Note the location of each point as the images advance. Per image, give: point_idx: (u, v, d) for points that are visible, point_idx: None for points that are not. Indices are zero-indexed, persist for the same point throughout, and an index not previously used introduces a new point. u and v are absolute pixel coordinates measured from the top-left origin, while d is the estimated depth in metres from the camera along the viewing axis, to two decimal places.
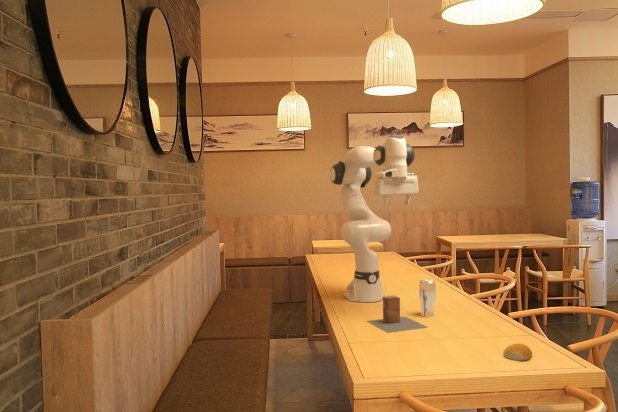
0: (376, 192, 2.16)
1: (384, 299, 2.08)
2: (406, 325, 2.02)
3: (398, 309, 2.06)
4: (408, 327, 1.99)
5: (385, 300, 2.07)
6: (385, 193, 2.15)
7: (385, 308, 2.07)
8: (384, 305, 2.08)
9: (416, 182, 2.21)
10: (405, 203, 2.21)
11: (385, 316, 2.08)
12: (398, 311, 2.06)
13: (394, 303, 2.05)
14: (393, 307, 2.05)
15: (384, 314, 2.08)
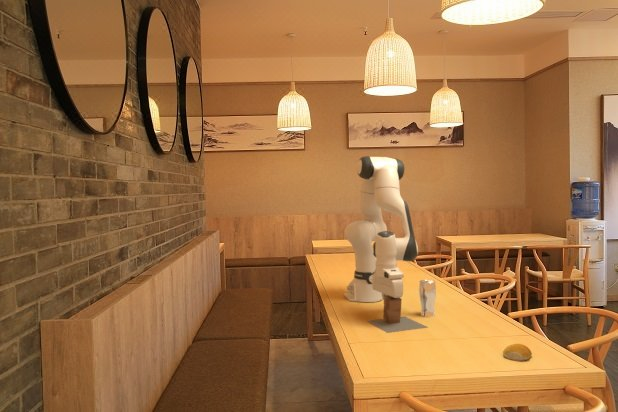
0: (399, 295, 2.02)
1: (386, 299, 2.07)
2: (406, 325, 2.02)
3: (399, 310, 2.05)
4: (408, 327, 1.99)
5: (387, 300, 2.06)
6: None
7: (386, 307, 2.06)
8: (385, 304, 2.07)
9: None
10: None
11: (385, 315, 2.07)
12: (399, 311, 2.06)
13: (395, 304, 2.04)
14: (394, 308, 2.04)
15: (385, 313, 2.08)
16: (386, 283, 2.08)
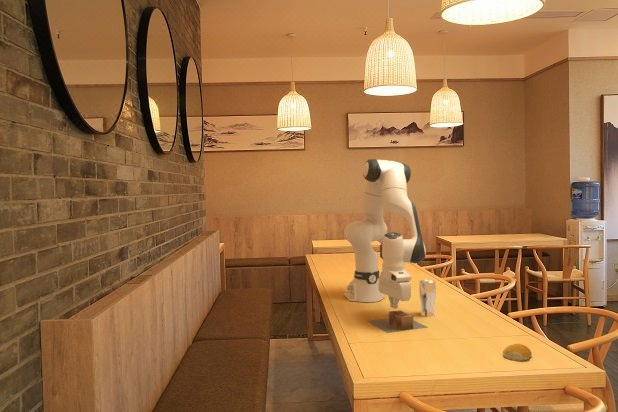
0: (407, 298, 1.96)
1: (400, 320, 1.96)
2: None
3: None
4: None
5: (400, 322, 1.97)
6: None
7: (396, 320, 1.99)
8: (397, 318, 1.98)
9: None
10: None
11: (391, 317, 2.03)
12: None
13: None
14: None
15: (392, 316, 2.02)
16: (393, 286, 2.02)
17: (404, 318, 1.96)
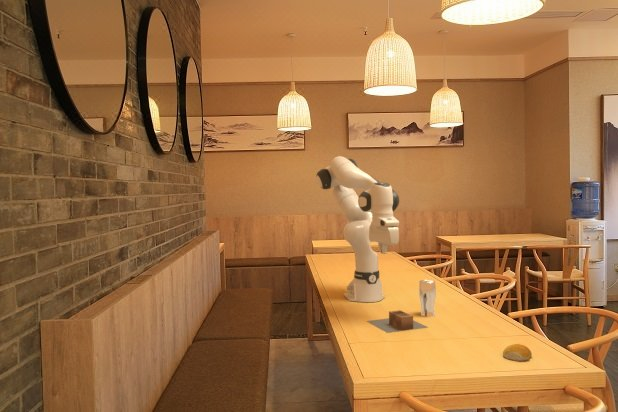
0: (395, 241, 2.07)
1: (400, 320, 1.96)
2: None
3: None
4: None
5: (400, 322, 1.97)
6: None
7: (396, 320, 1.99)
8: (397, 318, 1.98)
9: None
10: None
11: (391, 317, 2.03)
12: None
13: None
14: None
15: (392, 316, 2.02)
16: (382, 232, 2.13)
17: (404, 318, 1.96)
